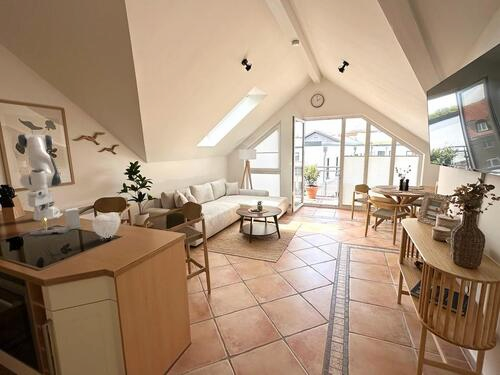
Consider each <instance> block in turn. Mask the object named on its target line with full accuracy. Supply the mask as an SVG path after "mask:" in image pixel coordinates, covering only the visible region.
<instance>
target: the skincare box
mask: <svg viewBox="0 0 500 375" xmlns="http://www.w3.org/2000/svg"><path fill="white" fill-rule="evenodd" d="M64 214H65V220H66V227H69V228H70V229H69V231H70V230H75V229H81V219H80V212H79V208H78V207H74V208H70V209H64Z"/></svg>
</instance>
